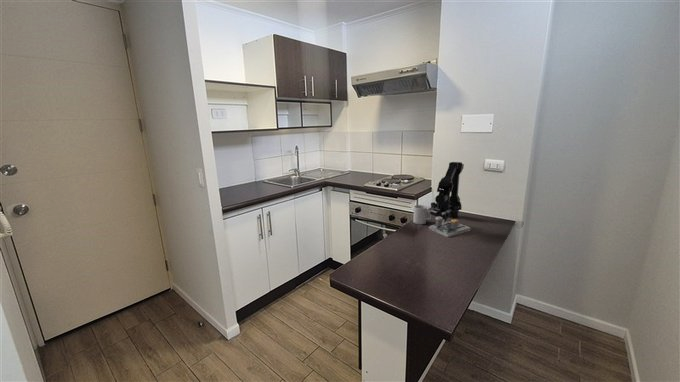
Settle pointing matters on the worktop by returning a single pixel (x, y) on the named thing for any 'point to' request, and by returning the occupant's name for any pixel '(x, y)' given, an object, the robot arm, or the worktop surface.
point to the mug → (420, 214)
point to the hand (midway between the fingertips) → (443, 223)
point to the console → (449, 229)
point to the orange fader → (454, 224)
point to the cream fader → (439, 221)
